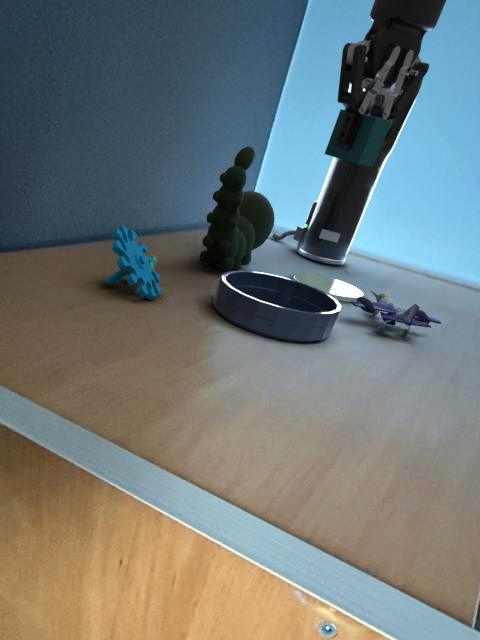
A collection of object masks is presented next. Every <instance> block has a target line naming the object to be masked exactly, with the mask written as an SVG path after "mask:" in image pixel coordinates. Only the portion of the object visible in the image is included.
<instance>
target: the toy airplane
mask: <svg viewBox="0 0 480 640" xmlns="http://www.w3.org/2000/svg"><path fill="white" fill-rule="evenodd" d="M369 291H370V292H371V293H372V294H373V295H374V297H375V300H376V301H377V302H375V301H372V300H370V299H369V298H366V297H364V296H363V297H362V296H360V297H358V298H357V301H352V302H350V304H351V305H353V306H354V307H357V308H359V309H361V310H362V311H363V312H366V313H368V314H371V317H372V318H374V317H376V316H377V315H379V314H380V317H381V320H382V322H381V324H380V325H379V326H378V329H377V330H378V332H379V333H382V332H383V331H385V325H384V324H386V325H388V326H389V325H390V326H395V325H396V323H399V324H403V325H405V326H406V327H408V328H405V329H404V330H403V331H402V336H403V338H404V337H408V335H409V333H410V329H411V326H413V327H414V326H415V327H423V328H429V329H431V328H432V325H430V323H432V324H433V323H434V324H438V325H441V324H442V321H441V320H440V319H438V318H437V317H433V316H429V315H428V314H427V313H426V312H425V311H424V310H421V309H420V306H419V305H418V304H417V303H414V304H412V305H411V306H410V307H409V308H408V309H405V308H401V307H398V306H396V305H395V304H394V303H393V301H392V300H391V298H390V297H389V295H388V294H387V293H385V292H382V293H379V294H378V293H375V292H374V291H372V290H371V289H369Z"/></svg>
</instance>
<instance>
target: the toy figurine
mask: <svg viewBox="0 0 480 640" xmlns="http://www.w3.org/2000/svg"><path fill="white" fill-rule="evenodd" d="M255 159H256V150H255V149H254V148H253V147H251V146H246V147H242V148H241V149H240V150H239V151H238V153H236V155H235V158H234V161H233V165H232V166H230V167H228V168H227V169H226V170H225V171H224V172H222V173H221V174H220V175H219V182H220V183H221V186H220V188H219V189H218V190H217V191H214V192H213V194H212V200H213V201H214V202H215V203H216V206H214V209H213V210H212V211H209V212H208V213H207V215H206V222H207V223H208V224H210V225H209V226H208V229H207V231H206V235H205V236H204V237H203V238H202V245H203V247H205V250H202V251H200V253H199V254H198V255H199V256H198V259H199V262H201V263H202V264H204V265H212V264H214V265H216V266H218V267H219V268H221V269H222V270H223V271H229V272H230V271H241V270H242V267H245V266H248V265H249V264H250V263H251V261H252V252H253V251H255V250H256V249H257V248H260V247H261V246H262V245H263V244H264V243H265V242H266V241H267V240H268V238H269V237H270V235H271V233H272V231H273V229H274V226H275V211H274V208H273V205H272V203H271V202H270V199H268V198H267V197H266V196H265V195H264V194H262V193H261V192H258V191H253V190H245V191H244V190H243V189H244V187H245V186H246V184H247V178H248V177H247V172H246V171H247V170H248V169H249V168H250V167H251V166H252V165H253V162H254V160H255Z"/></svg>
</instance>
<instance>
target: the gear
mask: <svg viewBox="0 0 480 640" xmlns="http://www.w3.org/2000/svg"><path fill="white" fill-rule="evenodd" d="M111 237H112V239H113V240H114V241H113V242H112V243H111V249H112V251H113V252H114V253H115V254H117V255H118V256H119V257H118V258H117V259H116V265H117V267H118V269H119V270H117V271H116V272H115V273H113V274H112V275H110V276H109V277H107V278H106V279H105V282H106V284H107V285H108V286H109V287H111V286H113V285H114V284H116V283H118V282H119V281H120V280H122V279H123V278H125V281H126V282H127V284H128V285H129V287H132V286H134V285H135V284H138V287H137V288H136V293H137V294H138V295H139V297H141V298H142V299H143V298H144V297H146V299H148V300H149V301H152V300H155V299H156V298H157V295H158V294H159V293H161V292H162V288H161V287H160V285H159V283H160V282H161V275H160V274H159V273H158V272H156V271H155V270H154V269H155V268H156V267H157V264H156V263H158V258H157V256H156V255H155V254H153V255H151V256H149V257H148V255H146V254H145V253H146V252H148V251H149V249H148V246H147V245H146V243H145V241H141V242H140V243H138V244H137V241H136V240H138V235H137V233H136V232H135V230H134V229H131V230H129V229H128V228H127V227H126V226H125V225H124V224H121V225H120V226H119V227H117V229H115V230H114V232H111Z"/></svg>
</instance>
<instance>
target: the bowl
mask: <svg viewBox="0 0 480 640" xmlns="http://www.w3.org/2000/svg"><path fill="white" fill-rule="evenodd" d="M216 288H217V289H216V291H215V295H214V298H213V305H214V308H215V309H216V310H217V311H218V312H219V313H220V315H221V316H223V317H224V318H225V319H226V320H228V321H229V322H231V323H233V324H234V325H236V326H238V327H241V328H243V329H245V330H247V331H249V332H253V333H255V334H257V335H258V334H259V335H261V336H265V337H269V338H272V339H277V340H281V341H286V342H287V341H288V342H294V343H295V342H297V343H311V342H312V343H313V342H317V341H322V340H325V339H327V338H329V337H330V335H331V334H332V331H333V328H334V326H335V324H336V322H337V319H338V317H339V315H340V312H341V310H342V308H343V306H342V304H341V303H340V301H337V300H336V299H334V298H333V297H332V296H330V295H329V294H327V293H325V292H323V291H321V290H319V289H316V288H314V287H312V286H309V285H306V284H304V283H301V282H298V281H295V280H293V278H292V279H291V278H289V277H284V276H280V275H276V274H271V273H267V272H261V271H253V270H240V271H230V270H229V271H225V272H224V273H223V274H222V275H220V278H219V281H218V285H217V287H216Z"/></svg>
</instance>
